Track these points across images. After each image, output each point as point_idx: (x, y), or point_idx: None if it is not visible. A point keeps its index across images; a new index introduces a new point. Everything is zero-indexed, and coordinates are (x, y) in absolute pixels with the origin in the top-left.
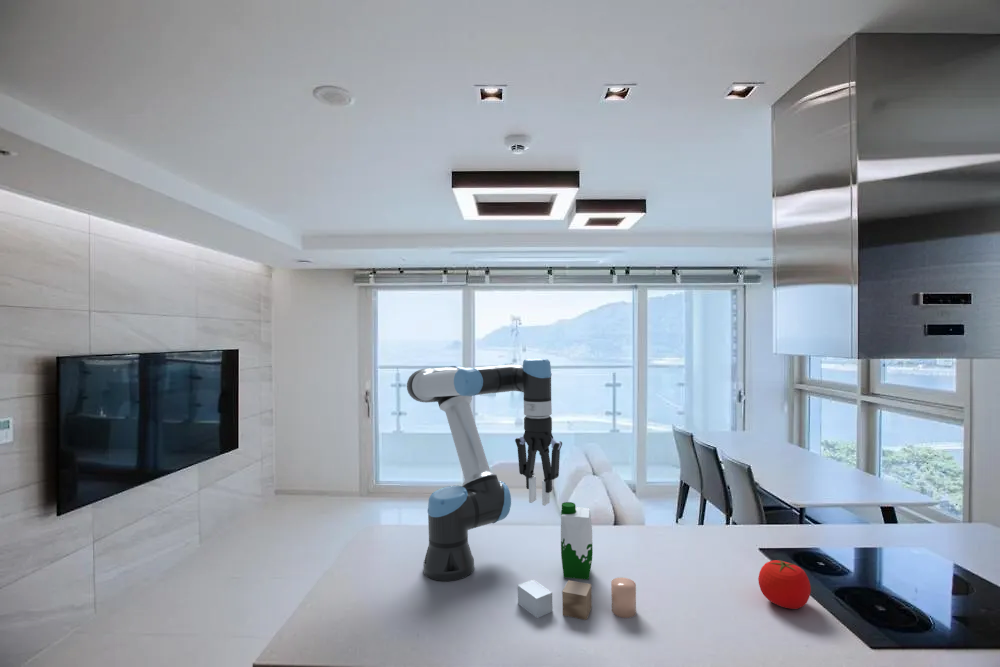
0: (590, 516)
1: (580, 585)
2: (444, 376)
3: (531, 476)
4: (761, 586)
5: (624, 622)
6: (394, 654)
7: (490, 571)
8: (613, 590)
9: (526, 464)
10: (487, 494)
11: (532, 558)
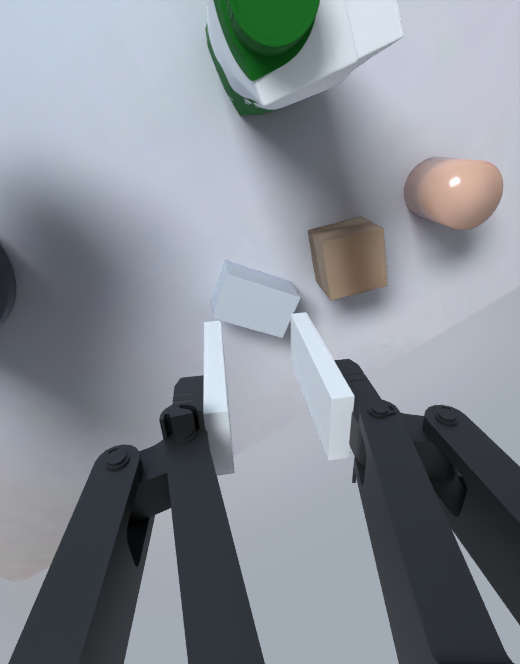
0: None
1: (360, 250)
2: None
3: (209, 447)
4: None
5: (438, 230)
6: None
7: (38, 213)
8: (441, 222)
9: (126, 523)
10: None
11: (71, 38)
